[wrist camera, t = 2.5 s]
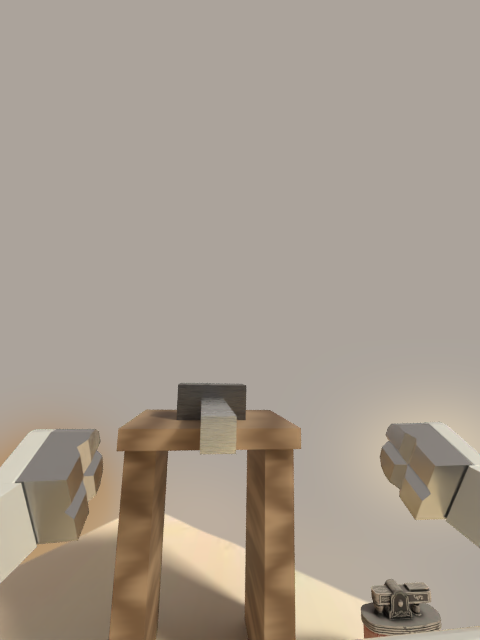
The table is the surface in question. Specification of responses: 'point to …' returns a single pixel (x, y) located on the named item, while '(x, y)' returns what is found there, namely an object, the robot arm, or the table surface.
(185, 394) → the steel t handle
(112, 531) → the table surface
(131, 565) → the walnut shelf
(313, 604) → the table surface
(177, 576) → the table surface
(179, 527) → the table surface
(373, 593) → the lighter
